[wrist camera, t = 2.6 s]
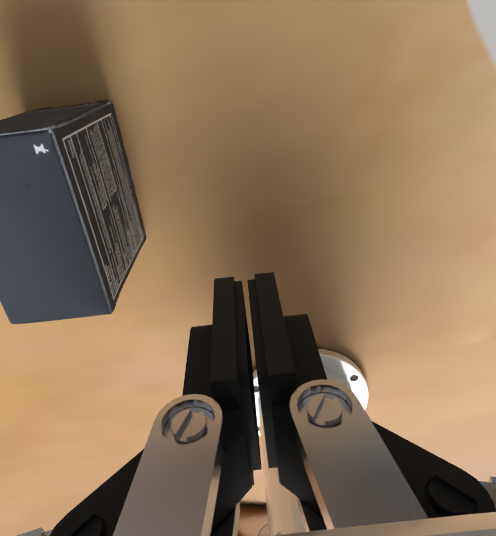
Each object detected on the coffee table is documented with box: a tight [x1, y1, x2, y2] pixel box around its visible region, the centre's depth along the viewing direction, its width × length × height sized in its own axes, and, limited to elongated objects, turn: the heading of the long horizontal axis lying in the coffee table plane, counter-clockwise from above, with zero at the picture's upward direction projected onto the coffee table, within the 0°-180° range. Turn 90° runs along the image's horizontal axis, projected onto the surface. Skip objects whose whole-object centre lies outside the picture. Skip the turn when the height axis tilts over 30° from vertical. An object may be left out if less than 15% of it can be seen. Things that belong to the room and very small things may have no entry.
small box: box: [0, 100, 146, 324], centre depth 25 cm, size 11×6×10 cm, turn 6°
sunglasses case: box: [237, 504, 269, 536], centre depth 49 cm, size 18×7×7 cm, turn 80°
